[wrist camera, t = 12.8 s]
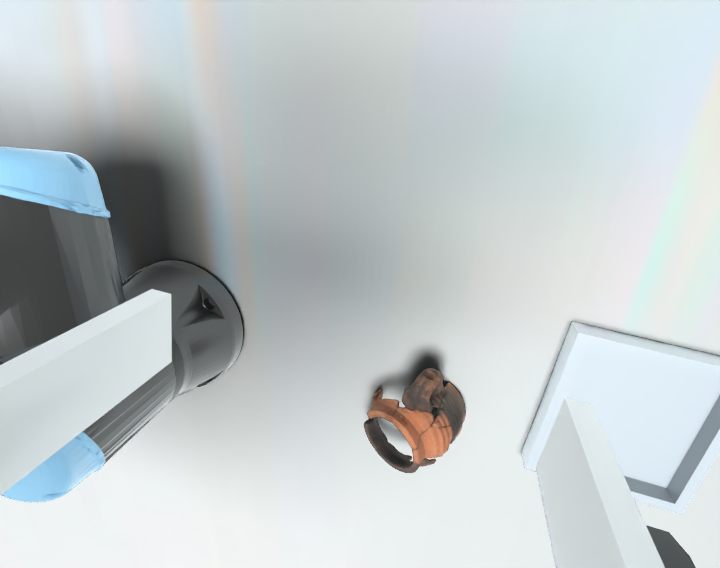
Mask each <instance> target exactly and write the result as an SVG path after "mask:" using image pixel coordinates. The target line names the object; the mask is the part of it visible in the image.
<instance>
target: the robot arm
mask: <svg viewBox="0 0 720 568" xmlns="http://www.w3.org/2000/svg"><path fill="white" fill-rule="evenodd" d="M108 218H110V212H109V211H108V210H107V209H106V207H105V203H104V199H103V195H102V192H101V188H100V184H99V181H98V177H97V174H96V172H95V170H94V168H93V167H92V166H91V164H90V163H89V162H88V161H86V160H85V159H84V158H82V157H80V156H78V155H76V154H73V153H69V152H63V151H51V150H38V149H26V148H14V147H1V146H0V496H4V497H7V498H10V499H14V500H18V501H24V502H45V501H50V500H53V499H56V498H59V497H61V496H63V495H64V494H66V493H68V492H69V491H70V490H72V489H73V488H74V487H75V486H77V485H78V484H79V483H80V482H81V481H83V480H84V479H85V478H86V477H88V476H89V475H90V474H91V473H93V472H95V471H98V470H99V469H100V468H101V467H102V466H104V464H105V463H106V462H107V461H108V460H109V459H110V458H111V457H112V456H113V455H114V454H115V453H116V452H117V451H118V450H119V449H120V448H121V447H123V446H124V445H125V444H126V443H127V442H128V441H129V440H130V439H131V438H132V437H133V436H134V435H135V434H136V433H137V432H138V431H139V430H140V429H142V428H143V427H144V426H145V425H146V424H147V423H148V422H149V421H150V420H151V419H152V418H153V417H154V416H155V415H156V414H157V413H158V412H160V411H161V410H162V409H163V408H164V407H165V406H166V405H167V404H168V403H169V402H170V401H171V400H172V399H174V398H175V397H176V396H178V395H181V394H183V393H186V392H188V391H190V390H192V389H194V388H196V387H200V386H203V385H206V384H209V383H211V382H213V381H214V380H216V379H217V378H219V377H220V376H221V375H222V374H223V373H224V372H225V371H226V370H227V369H228V368H229V367H231V365H232V364H233V363H234V362H235V361H236V359H237V357H238V355H239V353H240V351H241V347H242V343H243V326H242V320H241V317H240V313H239V311H238V308H237V306H236V304H235V302H234V300H233V299H232V297H231V295H230V294H229V293H228V291H227V290H226V289H225V287H224V286H223V285H222V284H221V283H220V282H219V281H218V280H217V279H216V278H214V277H213V276H212V275H211V274H209V273H208V272H206V271H205V270H203V269H201V268H199V267H197V266H195V265H193V264H190V263H186V262H182V261H176V260H166V261H160V262H157V263H154V264H151V265H149V266H147V267H144V268H142V269H140V270H138V271H136V272H135V273H133V274H132V275H131V276H130V277H128V278H127V279H126V281H125V282H124V283H123V284H122V281H121V276H120V272H119V267H118V262H117V258H116V253H115V248H114V243H113V239H112V234H111V229H110V225H109V220H108ZM536 470H537V475H538V481H539V486H540V491H541V496H542V501H543V506H544V511H545V516H546V521H547V526H548V531H549V536H550V541H551V546H552V551H553V556H554V561H555V566H556V568H695V566H694V564H693V562H692V560H691V558H690V556H689V555H688V554H687V553H686V552H685V550H684V549H683V548H682V547H681V546H680V545H679V543H678V542H677V541H676V540H675V539H674V538H673V537H672V535H671V534H670V533H669V532H666V531H663V530H660V529H656V528H653V527H650V526H646V524H645V522H644V520H643V518H642V515H641V513H640V511H639V509H638V506H637V504H636V502H635V500H634V498H633V495H632V493H631V491H630V489H629V486H628V484H627V482H626V480H625V477H624V475H623V473H622V471H621V469H620V466H619V464H618V462H617V460H616V457H615V455H614V453H613V451H612V448H611V446H610V444H609V442H608V440H607V437H606V435H605V433H604V431H603V428H602V426H601V424H600V422H599V420H598V417H597V415H596V413H595V411H594V408H593V406H592V405H590V404H587V403H583V402H579V401H575V400H571V399H568V398H565V399H564V401H563V404H562V406H561V408H560V411H559V413H558V416H557V418H556V421H555V423H554V426H553V428H552V430H551V433H550V435H549V438H548V440H547V443H546V445H545V447H544V450H543V452H542V455H541V457H540V460H539V462H538V464H537V467H536Z"/></svg>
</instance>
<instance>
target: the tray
mask: <svg viewBox="0 0 720 568" xmlns="http://www.w3.org/2000/svg"><path fill="white" fill-rule="evenodd" d="M565 398H568V399H571V400H575V401H579V402H583V403H587V404H590V405H592V406H593V408H594V411H595V413H596V415H597V417H598V420H599V422H600V424H601V426H602V428H603V431H604V433H605V435H606V437H607V440H608V442H609V444H610V446H611V448H612V451H613V453H614V455H615V457H616V460H617V462H618V464H619V466H620V469H621V471H622V473H623V475H624V477H625V480H626V482H627V484H628V486H629V489H630V491H631V493H632V495H633V498H634V500H635V501H637V502H641V503H644V504H647V505H651V506H654V507H658V508H661V509H664V510H668V511H671V512H675V513H678V514H681V515H682V513H683V512H684V510H685V509H686V507H687V505H688V504H689V502H690V500H691V499H692V497H693V495H694V494H695V492H696V491H697V489H698V487H699V486H700V484H701V482H702V481H703V479H704V477H705V476H706V474H707V473H708V471H709V469H710V468H711V466H712V464H713V463H714V461H715V459H716V458H717V456H718V454H719V453H720V356H718V355H713V354H709V353H705V352H701V351H696V350H692V349H688V348H684V347H679V346H675V345H671V344H667V343H662V342H658V341H654V340H650V339H645V338H641V337H637V336H633V335H628V334H624V333H620V332H616V331H611V330H607V329H603V328H598V327H594V326H590V325H586V324H581V323H577V322H573V321H572V323H571V325H570V328H569V330H568V333H567V336H566V338H565V341H564V343H563V346H562V348H561V351H560V354H559V356H558V359H557V361H556V364H555V367H554V369H553V372H552V374H551V377H550V379H549V382H548V385H547V387H546V390H545V392H544V395H543V398H542V400H541V403H540V405H539V408H538V411H537V413H536V416H535V418H534V421H533V423H532V426H531V429H530V431H529V434H528V436H527V439H526V442H525V444H524V447H523V449H522V457H523V463H524V468H525V469H528V470H531V471H535V472H537V470H536V467H537V464H538V462H539V460H540V457H541V455H542V452H543V450H544V447H545V445H546V443H547V440H548V438H549V435H550V433H551V430H552V428H553V426H554V423H555V421H556V418H557V416H558V413H559V411H560V408H561V406H562V404H563V401H564V399H565Z"/></svg>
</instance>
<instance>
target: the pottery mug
mask: <svg viewBox="0 0 720 568" xmlns="http://www.w3.org/2000/svg"><path fill="white" fill-rule="evenodd" d="M442 381H443V376H442V375H441V373H440V371H438V370H435V369H434V368H428V369H425V370H423V371H422V372H421V373H420V374H419V375H418V376H417V378H416V379H415V380H414V382H413V383H412V384H411V385H410V386H409V387H408V388H406V389H405V390H404V394H403V397H402V402H403V404H404V405H405V406H406V407H405V408H402V407H399V401H398V400H393V399H382V390H381V389H380V390H379V391H378V392H376V395H375V396H374V397H373V400H372V404H371V408H370V410H369V411H368V412H367V415H368V417H369V419H368V420H367V421H366V422H365V423H364V428H365V432H366V435H367V437H368V439H369V441H370V443H371V444H372V446H373V447H374V448H375V450H376V451H377V453H378V454H379V455H380V456H381V457H382V458H383V459H384V460H385V461H386V462H387V463H388V464H389V465H390V466H392V467H393V468H395V469H397V470H399V471H402V472H405V473H413V472H415V471H416V470H417V469H418V468H419V466H427V465H431V464H433V463H435V461H436V459H431V460H429V459H427V458H436V457H440V456H442V455H443V454H444V453H445V452H446V451H447V450H448V447H449V444H451V443H452V442H453V441H454V440H455V438H456V437H457V436H458V435H459V433H460V431H461V427H462V424H463V422H464V420H465V413H466V411H465V404H464V402H463V400H462V397H461V395H460V393H459V392H458V391H457V390H456V388H455V387H454V386H453V385H452V384H451V383H450V382H448V383H447V384H446V386H445V387H444V386H443V383H442ZM433 407H435V408H438V410H437V413H436V415H435V417H434V416H433V414H432V413H431V411H432V409H433ZM377 417H381V418H384V419H386V420H388V421H390V422H392V423H393V424H394V425H395V426H396V427H397V428H398V429H399V430H400V431H401V433H402V434H403V435H404V436H405V438H406V439H407V441H408V442H409V444H410V446H411V448H412V452H413V462H412V461H410V460H411V459H412V456H409V455H404V454H402V453H400V452H399V451H398V450H397V449H396V448H395V447H394V446H393V445H391V444H390V443H389V442H388V441H387V438H386V436H385V434H384V433H383V432H382V430H381V428H380V426H379V424H378V420H377Z"/></svg>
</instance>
